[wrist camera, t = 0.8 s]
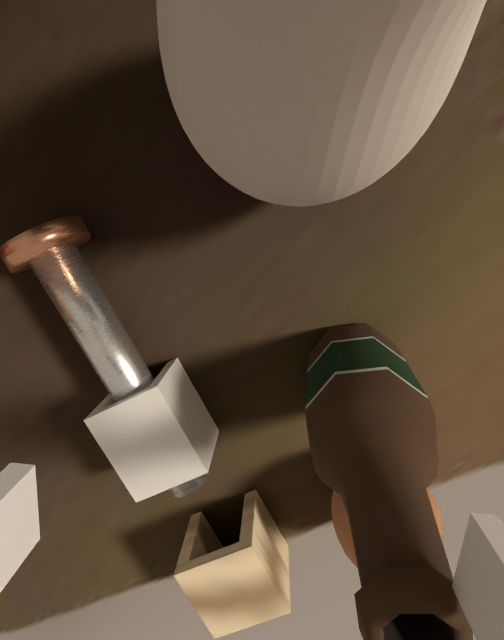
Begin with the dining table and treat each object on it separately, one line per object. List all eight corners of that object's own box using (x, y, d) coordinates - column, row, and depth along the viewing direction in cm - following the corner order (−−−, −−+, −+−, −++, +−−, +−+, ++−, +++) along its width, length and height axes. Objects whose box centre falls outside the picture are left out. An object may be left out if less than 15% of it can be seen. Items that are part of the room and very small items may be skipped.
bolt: (31, 250, 35) (-22, 257, 28) (94, 215, 34) (52, 214, 27) (168, 473, 39) (147, 521, 33) (227, 448, 38) (217, 493, 32)
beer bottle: (334, 417, 37) (366, 759, 14) (290, 346, 36) (244, 589, 13) (415, 379, 35) (610, 704, 12) (371, 302, 34) (489, 496, 11)
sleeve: (115, 386, 37) (83, 420, 31) (177, 357, 36) (156, 386, 30) (158, 457, 39) (136, 502, 33) (219, 430, 38) (207, 472, 32)
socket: (190, 515, 40) (173, 575, 34) (255, 489, 39) (251, 546, 32) (224, 570, 42) (214, 638, 35) (288, 546, 41) (290, 612, 34)
